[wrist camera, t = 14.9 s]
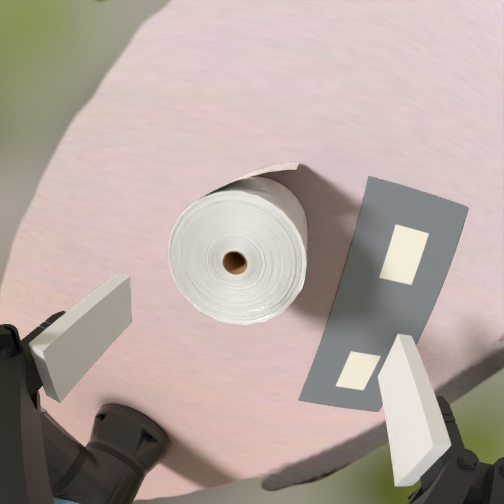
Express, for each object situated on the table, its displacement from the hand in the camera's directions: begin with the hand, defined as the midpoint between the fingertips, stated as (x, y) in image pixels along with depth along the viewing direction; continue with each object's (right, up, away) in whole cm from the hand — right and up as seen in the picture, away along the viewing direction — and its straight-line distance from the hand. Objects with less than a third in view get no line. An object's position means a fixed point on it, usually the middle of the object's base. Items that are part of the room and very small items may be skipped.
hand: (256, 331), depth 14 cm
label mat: (+14, -4, +19) cm, 24 cm away
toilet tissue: (0, +7, +18) cm, 19 cm away
